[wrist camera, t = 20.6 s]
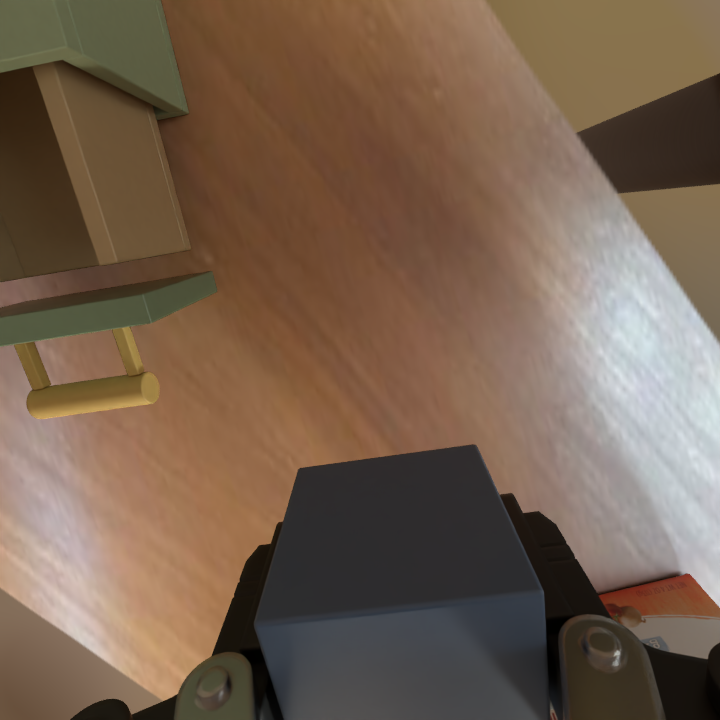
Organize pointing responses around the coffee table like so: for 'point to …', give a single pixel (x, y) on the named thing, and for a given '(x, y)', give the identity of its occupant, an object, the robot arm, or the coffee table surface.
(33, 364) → the drawer
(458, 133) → the coffee table surface
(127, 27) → the cabinet
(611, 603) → the cracker box
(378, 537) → the block
